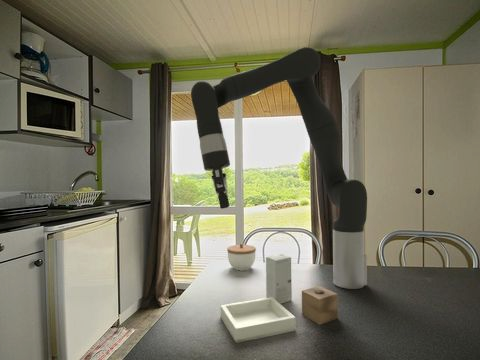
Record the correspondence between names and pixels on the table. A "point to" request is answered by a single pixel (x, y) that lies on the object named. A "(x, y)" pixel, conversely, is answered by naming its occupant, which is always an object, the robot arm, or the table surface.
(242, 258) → the lidded jar
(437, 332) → the table surface
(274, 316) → the tray
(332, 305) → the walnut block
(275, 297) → the skincare box
